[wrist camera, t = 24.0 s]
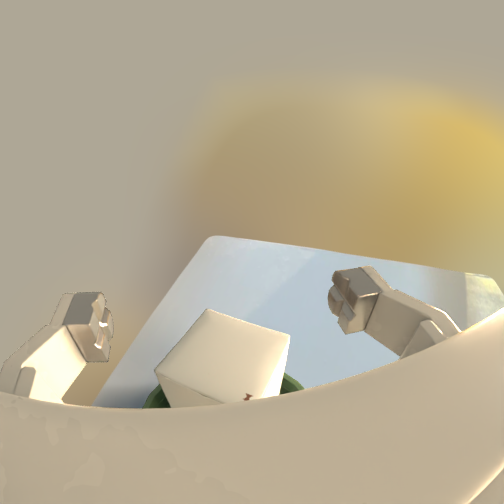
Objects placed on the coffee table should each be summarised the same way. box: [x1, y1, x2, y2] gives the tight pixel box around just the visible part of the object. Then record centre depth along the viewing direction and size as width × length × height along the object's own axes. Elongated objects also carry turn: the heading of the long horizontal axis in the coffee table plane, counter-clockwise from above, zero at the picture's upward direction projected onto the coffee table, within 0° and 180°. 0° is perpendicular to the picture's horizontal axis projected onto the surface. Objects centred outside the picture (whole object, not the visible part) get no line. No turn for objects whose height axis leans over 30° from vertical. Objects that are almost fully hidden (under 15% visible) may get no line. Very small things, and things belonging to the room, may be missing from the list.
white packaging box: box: [154, 309, 290, 408], centre depth 21 cm, size 7×7×13 cm
